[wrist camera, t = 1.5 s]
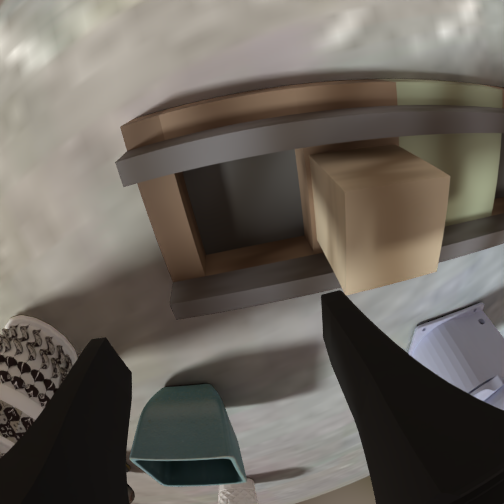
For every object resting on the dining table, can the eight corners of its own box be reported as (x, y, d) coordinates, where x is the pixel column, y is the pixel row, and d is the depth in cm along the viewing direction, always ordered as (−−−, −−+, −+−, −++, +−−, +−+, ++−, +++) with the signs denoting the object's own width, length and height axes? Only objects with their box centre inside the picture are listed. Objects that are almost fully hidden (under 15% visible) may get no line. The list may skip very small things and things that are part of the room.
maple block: (395, 144, 15) (450, 176, 11) (393, 224, 18) (436, 271, 14) (309, 155, 15) (344, 191, 11) (316, 239, 18) (345, 295, 14)
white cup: (252, 485, 51) (257, 526, 43) (214, 486, 50) (217, 528, 42) (260, 475, 47) (266, 521, 39) (217, 476, 46) (220, 523, 37)
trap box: (536, 94, 15) (573, 107, 11) (523, 214, 22) (552, 238, 18) (133, 119, 15) (107, 134, 12) (187, 288, 22) (183, 334, 18)
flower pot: (227, 367, 27) (233, 457, 20) (240, 411, 32) (248, 483, 25) (137, 375, 27) (126, 458, 20) (165, 417, 32) (162, 486, 24)
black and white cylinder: (-12, 311, 22) (-91, 537, 1) (57, 311, 22) (-12, 603, 1) (28, 371, 26) (-15, 568, 5) (95, 377, 27) (68, 609, 6)
